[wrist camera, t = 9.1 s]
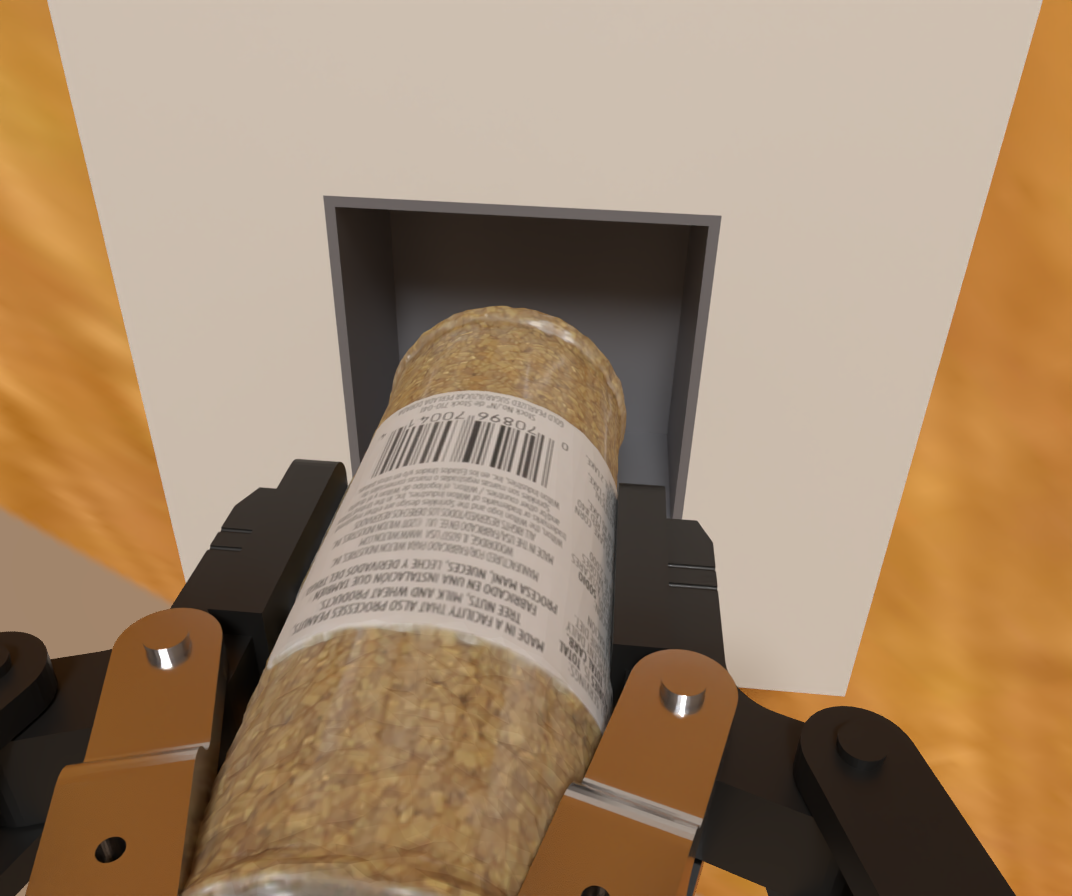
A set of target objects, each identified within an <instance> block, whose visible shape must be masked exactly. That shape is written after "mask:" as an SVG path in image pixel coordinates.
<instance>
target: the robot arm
mask: <svg viewBox="0 0 1072 896" xmlns="http://www.w3.org/2000/svg"><path fill="white" fill-rule="evenodd" d="M347 487H348V482H347V473H346V469H345V466H344V464H343V463H342V462H335V461H321V460H307V459H295V460H293V461H292V463H291V464H290V466H289V468H288V470H287V471H286V473H285V475H284V477H283V478H282V480H281V482H280V483H279V485H278V487H277V489H276V488H263V487H259V488H258V489H257V490H255V491H254V492H253V493H251V494H250V495H248V496H247V497H246V498H244V499H243V500H242V501H240V502H239V503H238V504H236V505H235V506H234V508H233V509H232V511H231V512H230V514H229V516H228V517H227V519H226V520H225V522H224V524H223V525H222V527H221V532H218V533H217V535H216V536H215V538H214V539H213V541H212V543H211V544H210V550H207V551H206V552H205V554H204V555H203V557H202V559H201V560H200V562H199V563H198V565H197V567H196V568H195V570H194V571H193V573H192V575H191V576H190V578H189V579H188V581H187V583H186V584H185V586H184V587H183V589H182V591H181V592H180V594H179V595H178V597H177V599H176V600H175V602H174V603H173V605H172V606H171V608H170V609H167V610H163V611H159V612H156V613H153V614H150V615H148V616H146V617H144V618H142V619H140V620H138V621H136V622H135V623H133V624H132V625H130V626H129V627H128V628H127V629H126V630H125V631H124V632H123V633H122V634H121V635H120V636H119V637H118V639H117V641H116V642H115V644H114V646H113V649H110V650H106V651H101V652H95V653H89V654H82V655H76V656H69V657H63V658H57V659H50V658H49V655H48V652H47V649H46V647H45V645H44V644H43V642H42V641H41V640H40V639H39V638H37V637H35V636H33V635H31V634H27V633H23V632H0V896H15V895H16V894H17V893H18V892H19V891H20V890H21V889H22V888H23V887H24V886H25V885H26V884H27V883H28V882H29V884H28V887H27V891H26V895H25V896H180V894H181V892H182V890H183V889H184V887H185V884H186V882H187V880H188V878H189V876H190V873H191V868H192V862H193V858H194V853H195V848H196V841H197V839H198V833H199V828H200V825H201V822H202V821H203V818H204V812H205V809H206V806H207V805H208V803H209V801H210V792H211V790H212V786H213V783H214V781H215V779H216V777H217V774H218V772H219V770H220V768H221V766H222V764H223V763H224V761H225V758H226V754H227V752H228V750H229V748H230V746H231V745H232V743H233V740H234V738H235V736H236V734H237V732H238V730H239V728H240V726H241V725H242V722H243V717H244V714H245V711H246V708H247V705H248V703H249V701H250V699H251V697H252V695H253V693H254V691H255V689H256V687H257V685H258V683H259V680H260V678H261V675H262V673H263V670H264V669H265V667H266V663H267V660H268V658H269V656H270V654H271V652H272V650H273V648H274V646H275V644H276V642H277V639H278V637H279V635H280V633H281V631H282V629H283V626H284V624H285V622H286V620H287V618H288V615H289V614H290V611H291V609H292V607H293V605H294V603H295V600H296V597H297V594H298V591H299V589H300V586H301V584H302V582H303V580H304V578H305V576H306V574H307V572H308V570H309V568H310V565H311V563H312V561H313V559H314V557H315V555H316V553H317V551H318V549H319V547H320V545H321V542H322V540H323V538H324V535H325V533H326V531H327V529H328V527H329V525H330V523H331V521H332V519H333V517H334V514H335V512H336V510H337V508H338V506H339V504H340V502H341V500H342V498H343V495H344V493H345V491H346V489H347ZM715 567H716V566H715V556H714V547H713V542H712V540H711V539H710V538H709V536H708V535H707V534H706V532H705V531H704V529H703V528H702V527H701V525H700V524H699V522H698V521H696V520H683V519H670V518H666V492H665V486H658V485H645V484H631V483H619V484H618V494H617V512H616V537H615V563H614V588H613V613H612V637H611V662H610V682H611V686H612V690H613V714H612V716H611V718H610V720H609V723H608V725H607V727H606V729H605V732H604V734H603V736H602V738H601V741H600V743H599V745H598V748H597V750H596V752H595V754H594V757H593V759H592V761H591V763H590V766H589V768H588V770H587V772H586V775H585V777H584V779H583V780H582V782H581V783H578V782H575V781H574V782H572V783H571V784H570V785H569V787H568V788H567V790H566V792H565V793H564V795H563V797H562V799H561V801H560V804H559V806H558V808H557V810H556V812H555V815H554V817H553V819H552V821H551V823H550V826H549V828H548V830H547V832H546V834H545V837H544V839H543V841H542V843H541V845H540V847H539V850H538V852H537V854H536V856H535V858H534V861H533V863H532V865H531V867H530V869H529V872H528V874H527V876H526V878H525V880H524V883H523V885H522V887H521V889H520V891H519V894H518V896H695V892H696V889H697V885H698V882H699V878H700V875H701V871H702V867H703V864H704V862H707V863H709V864H711V865H714V866H716V867H718V868H721V869H723V870H726V871H728V872H730V873H733V874H735V875H737V876H740V877H742V878H745V879H747V880H749V881H752V882H754V883H757V884H759V885H761V886H764V887H766V890H767V893H768V896H1016V895H1015V894H1014V892H1013V891H1012V889H1011V888H1010V886H1009V885H1008V883H1007V882H1006V880H1005V879H1004V877H1003V876H1002V874H1001V873H1000V871H999V870H998V868H997V867H996V865H995V864H994V862H993V861H992V859H991V858H990V856H989V855H988V853H987V852H986V850H985V849H984V847H983V846H982V844H981V843H980V841H979V840H978V838H977V837H976V836H975V834H974V833H973V831H972V830H971V828H970V827H969V825H968V824H967V822H966V821H965V819H964V818H963V816H962V815H961V813H960V812H959V810H958V809H957V807H956V806H955V804H954V803H953V801H952V800H951V798H950V797H949V795H948V794H947V792H946V791H945V789H944V788H943V786H942V785H941V783H940V782H939V780H938V779H937V777H936V776H935V775H934V773H933V772H932V770H931V769H930V767H929V766H928V764H927V763H926V761H925V760H924V758H923V757H922V755H921V754H920V752H919V751H918V749H917V748H916V746H915V745H914V743H913V742H912V741H911V739H910V738H909V737H908V736H907V734H906V733H904V732H903V731H902V730H901V729H900V728H899V727H898V726H897V725H895V724H894V723H893V722H891V721H890V720H888V719H886V718H884V717H883V716H881V715H878V714H876V713H874V712H871V711H868V710H865V709H862V708H856V707H849V706H837V707H830V708H826V709H823V710H821V711H818V712H816V713H815V714H814V715H812V716H811V717H810V718H809V719H808V720H807V721H806V722H805V723H804V722H801V721H798V720H796V719H793V718H790V717H787V716H784V715H781V714H778V713H776V712H773V711H771V710H769V709H766V708H764V707H763V706H761V705H759V704H757V703H756V702H754V701H753V700H751V699H750V698H748V697H747V696H746V695H745V694H744V693H743V692H742V691H741V690H740V689H739V688H738V687H737V686H736V684H735V682H734V680H733V678H732V677H731V675H730V674H729V673H728V670H727V667H726V662H725V653H724V644H723V634H722V624H721V615H720V605H719V595H718V591H717V587H718V585H717V576H716V571H715Z"/></svg>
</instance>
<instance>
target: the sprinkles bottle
mask: <svg viewBox="0 0 1072 896" xmlns="http://www.w3.org/2000/svg"><path fill="white" fill-rule="evenodd" d="M625 429H626V407H625V403H624V394H623V389H622V385H621V381H620V379H619V378H618V377H617V375H616V374H615V372H614V369H613V368H612V366H611V364H610V362H609V360H608V359H607V358H606V357H605V355H604V354H603V353H602V352H601V351H600V350H599V349H598V348H597V346H596V345H595V344H594V343H593V342H592V341H591V340H590V339H589V338H588V337H586V336H585V335H583V334H582V333H580V332H579V331H578V330H577V329H576V328H575V327H573V326H571V325H570V324H568V323H566V322H565V321H563V320H562V319H560V318H558V317H554V316H551V315H548V314H545V313H542V312H539V311H536V310H531V309H527V308H512V307H509V306H490V307H484V308H478V309H472V310H466V311H463V312H460V313H457V314H454V315H452V316H451V317H449V318H447V319H445V320H443V321H441V322H440V323H438V324H436V325H435V326H434V327H432V328H431V329H430V330H428V331H426V332H424V333H423V334H422V335H421V336H420V337H419V339H418V340H417V341H416V342H415V343H414V345H413V346H412V347H411V348H410V349H409V350H408V351H407V353H406V354H405V355H404V357H403V358H402V360H401V361H400V364H399V366H398V368H397V370H396V373H395V376H394V380H393V387H392V391H391V394H390V399H389V405H388V407H387V409H386V411H385V413H384V415H383V417H382V419H381V421H380V423H379V426H378V428H377V429H376V431H375V433H374V435H373V437H372V440H371V442H370V445H369V448H368V449H367V451H366V453H365V456H364V458H363V460H362V462H361V464H360V466H359V468H358V470H357V472H356V474H355V475H354V477H353V478H352V479H351V481H350V483H349V485H348V487H347V489H346V491H345V493H344V495H343V498H342V500H341V502H340V504H339V506H338V508H337V510H336V512H335V514H334V517H333V519H332V521H331V523H330V525H329V527H328V529H327V531H326V533H325V535H324V538H323V540H322V542H321V545H320V547H319V549H318V551H317V553H316V555H315V557H314V559H313V561H312V563H311V565H310V568H309V570H308V572H307V574H306V576H305V578H304V580H303V582H302V584H301V586H300V589H299V591H298V594H297V597H296V600H295V603H294V605H293V607H292V609H291V611H290V614H289V615H288V618H287V620H286V622H285V624H284V626H283V629H282V631H281V633H280V635H279V637H278V639H277V642H276V644H275V646H274V648H273V650H272V652H271V654H270V656H269V658H268V660H267V663H266V667H265V669H264V670H263V673H262V675H261V678H260V680H259V683H258V685H257V687H256V689H255V691H254V693H253V695H252V697H251V699H250V701H249V703H248V705H247V708H246V711H245V714H244V717H243V722H242V725H241V726H240V728H239V730H238V732H237V734H236V736H235V738H234V740H233V743H232V745H231V746H230V748H229V750H228V752H227V754H226V758H225V761H224V763H223V764H222V766H221V768H220V770H219V772H218V774H217V777H216V779H215V781H214V783H213V786H212V790H211V792H210V801H209V803H208V805H207V806H206V809H205V812H204V818H203V821H202V822H201V825H200V828H199V833H198V839H197V841H196V848H195V853H194V858H193V862H192V868H191V873H190V876H189V878H188V880H187V882H186V884H185V887H184V889H183V890H182V892H181V894H180V896H518V894H519V891H520V889H521V887H522V885H523V883H524V880H525V878H526V876H527V874H528V872H529V869H530V867H531V865H532V863H533V861H534V858H535V856H536V854H537V852H538V850H539V847H540V845H541V843H542V841H543V839H544V837H545V834H546V832H547V830H548V828H549V826H550V823H551V821H552V819H553V817H554V815H555V812H556V810H557V808H558V806H559V804H560V801H561V799H562V797H563V795H564V793H565V792H566V790H567V788H568V787H569V785H570V784H571V783H572V782H574V781H575V782H578V783H581V782H582V780H583V779H584V777H585V775H586V772H587V770H588V768H589V766H590V763H591V761H592V759H593V757H594V754H595V752H596V750H597V748H598V745H599V743H600V741H601V738H602V736H603V734H604V732H605V729H606V727H607V725H608V723H609V720H610V718H611V716H612V714H613V690H612V686H611V682H610V662H611V637H612V613H613V588H614V563H615V537H616V512H617V494H618V493H617V474H618V453H619V448H620V446H621V444H622V442H623V439H624V434H625Z"/></svg>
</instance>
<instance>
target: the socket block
mask: <svg viewBox="0 0 1072 896" xmlns="http://www.w3.org/2000/svg"><path fill="white" fill-rule="evenodd" d="M47 1H48V5H49V9H50V14H51V18H52V22H53V26H54V30H55V35H56V39H57V43H58V47H59V51H60V56H61V60H62V64H63V68H64V72H65V77H66V81H67V85H68V89H69V93H70V98H71V102H72V106H73V110H74V114H75V119H76V123H77V127H78V131H79V135H80V140H81V144H82V148H83V152H84V156H85V161H86V165H87V169H88V173H89V177H90V182H91V186H92V190H93V194H94V198H95V203H96V207H97V211H98V215H99V219H100V224H101V228H102V232H103V236H104V240H105V245H106V249H107V253H108V257H109V261H110V266H111V270H112V274H113V278H114V282H115V287H116V291H117V295H118V299H119V303H120V308H121V312H122V316H123V320H124V324H125V329H126V333H127V337H128V341H129V345H130V350H131V354H132V358H133V362H134V366H135V371H136V375H137V379H138V383H139V387H140V392H141V396H142V400H143V404H144V408H145V413H146V417H147V421H148V425H149V429H150V434H151V438H152V442H153V446H154V450H155V455H156V459H157V463H158V467H159V471H160V476H161V480H162V484H163V488H164V492H165V497H166V501H167V505H168V509H169V513H170V518H171V522H172V526H173V530H174V534H175V539H176V543H177V547H178V551H179V555H180V560H181V564H182V568H183V572H184V577H185V581H186V583H187V581H188V579H189V578H190V576H191V575H192V573H193V571H194V570H195V568H196V567H197V565H198V563H199V562H200V560H201V559H202V557H203V555H204V554H205V552H206V551H207V550H210V544H211V543H212V541H213V539H214V538H215V536H216V535H217V533H218V532H221V527H222V525H223V524H224V522H225V520H226V519H227V517H228V516H229V514H230V512H231V511H232V509H233V508H234V506H235V505H236V504H238V503H239V502H240V501H242V500H243V499H244V498H246V497H247V496H248V495H250V494H251V493H253V492H254V491H255V490H257V489H258V488H259V487H263V488H276V489H277V487H278V485H279V483H280V482H281V480H282V478H283V477H284V475H285V473H286V471H287V470H288V468H289V466H290V464H291V463H292V461H293V460H295V459H307V460H321V461H335V462H342V463H343V464H344V466H345V469H346V473H347V482H348V485H349V483H350V481H351V479H352V478H353V477H354V475H355V474H356V472H357V470H358V468H359V466H360V464H361V462H362V460H363V458H364V456H365V453H366V451H367V449H368V448H369V445H370V442H371V440H372V437H373V435H374V433H375V431H376V429H377V428H378V426H379V423H380V421H381V419H382V417H383V415H384V413H385V411H386V409H387V407H388V405H389V399H390V394H391V391H392V387H393V380H394V376H395V373H396V370H397V368H398V366H399V364H400V361H401V360H402V358H403V357H404V355H405V354H406V353H407V351H408V350H409V349H410V348H411V347H412V346H413V345H414V343H415V342H416V341H417V340H418V339H419V337H420V336H421V335H422V334H423V333H424V332H426V331H428V330H430V329H431V328H432V327H434V326H435V325H436V324H438V323H440V322H441V321H443V320H445V319H447V318H449V317H451V316H452V315H454V314H457V313H460V312H463V311H466V310H472V309H478V308H484V307H490V306H509V307H512V308H527V309H531V310H536V311H539V312H542V313H545V314H548V315H551V316H554V317H558V318H560V319H562V320H563V321H565V322H566V323H568V324H570V325H571V326H573V327H575V328H576V329H577V330H578V331H579V332H580V333H582V334H583V335H585V336H586V337H588V338H589V339H590V340H591V341H592V342H593V343H594V344H595V345H596V346H597V348H598V349H599V350H600V351H601V352H602V353H603V354H604V355H605V357H606V358H607V359H608V360H609V362H610V364H611V366H612V368H613V369H614V372H615V374H616V375H617V377H618V378H619V379H620V381H621V385H622V389H623V394H624V403H625V407H626V429H625V434H624V439H623V442H622V444H621V446H620V448H619V453H618V474H617V493H618V484H619V483H631V484H645V485H658V486H665V492H666V518H670V519H683V520H696V521H698V522H699V524H700V525H701V527H702V528H703V529H704V531H705V532H706V534H707V535H708V536H709V538H710V539H711V540H712V542H713V547H714V556H715V566H716V567H715V571H716V576H717V585H718V587H717V591H718V595H719V605H720V615H721V624H722V634H723V644H724V653H725V662H726V667H727V670H728V673H729V674H730V675H731V677H732V678H733V680H734V682H735V684H736V686H737V687H742V688H753V689H765V690H776V691H788V692H800V693H811V694H823V695H834V696H845V693H846V690H847V686H848V683H849V679H850V676H851V672H852V669H853V665H854V662H855V658H856V655H857V651H858V648H859V644H860V641H861V637H862V634H863V630H864V627H865V623H866V620H867V616H868V613H869V609H870V606H871V602H872V598H873V595H874V591H875V588H876V584H877V581H878V577H879V574H880V570H881V567H882V563H883V560H884V556H885V553H886V549H887V546H888V542H889V539H890V535H891V532H892V528H893V525H894V521H895V518H896V514H897V511H898V507H899V504H900V500H901V497H902V493H903V489H904V486H905V482H906V479H907V475H908V472H909V468H910V465H911V461H912V458H913V454H914V451H915V447H916V444H917V440H918V437H919V433H920V430H921V426H922V423H923V419H924V416H925V412H926V409H927V405H928V402H929V398H930V395H931V391H932V387H933V384H934V380H935V377H936V373H937V370H938V366H939V363H940V359H941V356H942V352H943V349H944V345H945V342H946V338H947V335H948V331H949V328H950V324H951V321H952V317H953V314H954V310H955V307H956V303H957V300H958V296H959V293H960V289H961V286H962V282H963V278H964V275H965V271H966V268H967V264H968V261H969V257H970V254H971V250H972V247H973V243H974V240H975V236H976V233H977V229H978V226H979V222H980V219H981V215H982V212H983V208H984V205H985V201H986V198H987V194H988V191H989V187H990V184H991V180H992V177H993V173H994V169H995V166H996V162H997V159H998V155H999V152H1000V148H1001V145H1002V141H1003V138H1004V134H1005V131H1006V127H1007V124H1008V120H1009V117H1010V113H1011V110H1012V106H1013V103H1014V99H1015V96H1016V92H1017V89H1018V85H1019V82H1020V78H1021V75H1022V71H1023V68H1024V64H1025V60H1026V57H1027V53H1028V50H1029V46H1030V43H1031V39H1032V36H1033V32H1034V29H1035V25H1036V22H1037V18H1038V15H1039V11H1040V8H1041V4H1042V1H1043V0H47Z"/></svg>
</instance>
